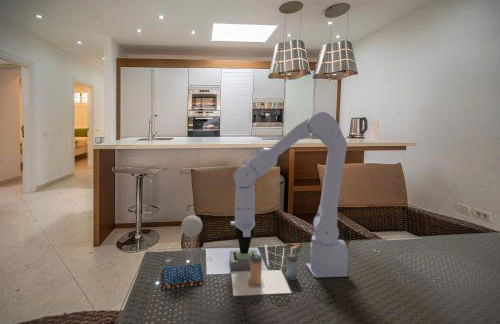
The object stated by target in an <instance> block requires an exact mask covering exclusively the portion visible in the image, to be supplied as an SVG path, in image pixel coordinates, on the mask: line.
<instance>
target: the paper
mask: <svg viewBox="0 0 500 324" xmlns="http://www.w3.org/2000/svg"><path fill="white" fill-rule="evenodd" d="M230 273H231V284H232V295H233V297H240V296H243V297H244V296H264V295H265V296H266V295H267V296H268V295H269V296H270V295H288V294H292V291H291V289H290V286H289V285H288V282H287V280H286V277H285V276H284V274H283V272H282V269H277V270H275V269H274V270H273V269H272V270H261V285H260V286H252V285H251V284H250V270H240V271H230Z"/></svg>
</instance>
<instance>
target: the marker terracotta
mask: <svg viewBox="0 0 500 324" xmlns="http://www.w3.org/2000/svg"><path fill="white" fill-rule="evenodd" d="M250 261H251V267H250V270H249V271H250V284H251V285H252V286H260V285H261V271H262V267H263V266H262V264H263V263H262V262H263V256H262V255H260V254H257V255H252V256H251V257H250Z"/></svg>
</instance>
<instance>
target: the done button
mask: <svg viewBox="0 0 500 324" xmlns="http://www.w3.org/2000/svg"><path fill="white" fill-rule="evenodd" d="M235 251H236V260H250V257H251V256H252V251H250V249H249V251H248V253H245V254H241V253H240V249H238V250H235ZM236 260H235V261H236Z"/></svg>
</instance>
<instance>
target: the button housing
mask: <svg viewBox="0 0 500 324" xmlns="http://www.w3.org/2000/svg"><path fill="white" fill-rule="evenodd" d="M249 250H250V249H249ZM236 251H237V250H229V263H230V272H239V271H250V267H251V261H250V260H236ZM250 251H252V255H258V252H257V250H256V249H255V250H252V249H251V250H250Z"/></svg>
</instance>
